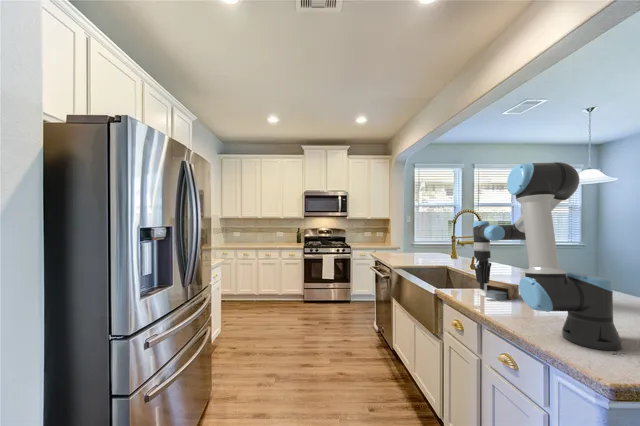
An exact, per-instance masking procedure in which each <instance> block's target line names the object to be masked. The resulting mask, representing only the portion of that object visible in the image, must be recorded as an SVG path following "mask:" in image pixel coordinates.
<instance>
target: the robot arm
mask: <svg viewBox="0 0 640 426" xmlns="http://www.w3.org/2000/svg"><path fill="white" fill-rule="evenodd" d="M506 182H507V183H506V188H507V191H508V193H509V194H511V195H513V196H515V201H516V202H518V203H519V204H520V205H521V212H522V214H521V215H520V217H519V218H518V219H517V220H516V221H515V222H514V223H512V224H490V222H489V221H488V220H475V221H473V225H472V232H473V234H472V235H473V236H472V237H473V257H474V258H475V259H476V263H474V264H473V265H472V267H473V268H474V271H475V278H476V282H477V283H479V288H480V289H479V292H480V293H479V295H480V296H483V297H484V296H487V283H489V282H488V281H489V280H491V278H490V276H491V275H490V274H491V267H492V262H489V261H490V260H489V259H490V258H491V242H494V241H495V242H497V241H498V242H499V241H525V243H526V252H527V260H528V268H527V269H526V270H524V271H525V272H524V277H522V278H520V280H519V282H518V285H519V295H520V296H521V298H522V301H524V303H525V304H526V306H528V308H530V309H532V310H534V311H537V312H538V311H539V312H547V313H550V312H567V317H566V319H565V321H564V324H563V325H562V326H563V327H562V329H561V332H562V333H561V335H562V338H564V339H565V340H566V341H569V342H571V343H574V344H576V345H579V346H582V347H586V348H590V349H594V350H595V349H596V350H600V351H601V350H602V351H618V350H621V349H622V347H623V345H622V344H623V343H622V342H623V341H622V339H621V336H620V335H619V332H618V330H617V328H616V326H615V323H614V310H613V309H614V307H613V306H614V305H613V304H614V303H613V302H614V301H613V300H614V299H613V295H614V294H613V293H614V291H613V288H612V287H613V286H612V282H611V281H610V279H608V278H606V277H603V276H602V277H601V276H597V275H592V274H585V273H579V272H569V271H568V272H566V271H564V270H563V269H561V268H560V264H559V256H558V251H557V250H558V248H557V242H556V236H555V229H554V228H555V227H554V223H553V222H554V220H553V215H552V214H553V213H552V212H553V211H554V210H555V209H556V208H557V207H558V205H559V204H560V203H562V201H566V200H568V199H570V198H571V197H572V196H573V195H574V193H576V191H577V189H578V187H579V184H580V174H579V173H578V171H577V170H576V168H574V167H573V166H572V165H570V164H569V163H565V162H561V161H560V162H535V163H534V162H528V163H520V164H516V165H515V166H514V167H513V168H512V169H511V170H510V172H509V174H508V176H507V181H506Z"/></svg>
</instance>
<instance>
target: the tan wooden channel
mask: <svg viewBox="0 0 640 426" xmlns="http://www.w3.org/2000/svg"><path fill="white" fill-rule="evenodd" d="M488 282H489V283H487V291H489V290H493V289H499V290H504V291H508V296H509V298H508V300H509V301H512V300H516V299H518V298H520V291H519V284H516V283H509V282H505V281H504V282H503V281H499V280H498V281H497V280H492V279H489V281H488Z"/></svg>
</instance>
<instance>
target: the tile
mask: <svg viewBox="0 0 640 426" xmlns="http://www.w3.org/2000/svg"><path fill="white" fill-rule="evenodd" d="M483 298H486V299H487V298H489V299H493V300H497V301H500V302H501V301H503V300H509V296H508V291H504V290H499V289H493V290H489V291H487V296H483Z"/></svg>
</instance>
